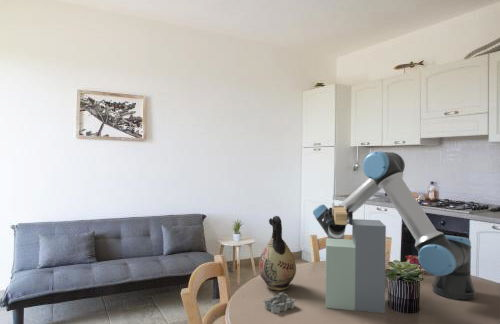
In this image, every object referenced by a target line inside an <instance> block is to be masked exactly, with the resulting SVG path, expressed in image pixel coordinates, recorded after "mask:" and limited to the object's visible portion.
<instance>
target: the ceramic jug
mask: <svg viewBox="0 0 500 324" xmlns="http://www.w3.org/2000/svg"><path fill="white" fill-rule="evenodd" d="M268 222H269V223H268V224H269V225H270V226H271V227H272V233H271V237H270V239H269V241H268V242H267V244H266V245H265V247H264V249H263V251H262V253H261V255H260V257H259V263H258V271H259V274H260V275H259V276H260V277H261V279H262V280H263V281H264V282H265V284H266V286H267V288H268V289H270V290H274V291H283V290H287V289H289V288H290V284H291V283H292V281H293V280H294V278H295V276H296V273H297V266H296V261H295V260H296V259H295V257H294V255H293V253H292V250H291V249H290V248H289V246H288V245H287V243H286V242H285V240H284V239H283V226H282V220H281V217H280V216H278V215H274V216H272V218H271V217H270V218H269V219H268Z"/></svg>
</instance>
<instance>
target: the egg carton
mask: <svg viewBox="0 0 500 324" xmlns="http://www.w3.org/2000/svg"><path fill="white" fill-rule="evenodd" d="M295 302H296V299H295V298H292V297H289V296H288V294H286V293H285V292H284V291H281V292H278V293H277V294H276V295H274V296H273V297H270V298H268V299H266V300H262V303H264V309H265V311H267V310H269V311H270V313H272V314H280V313H281V311H283V312H286V311H287V310H288V309H294V308H295V305H294V304H295Z"/></svg>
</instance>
